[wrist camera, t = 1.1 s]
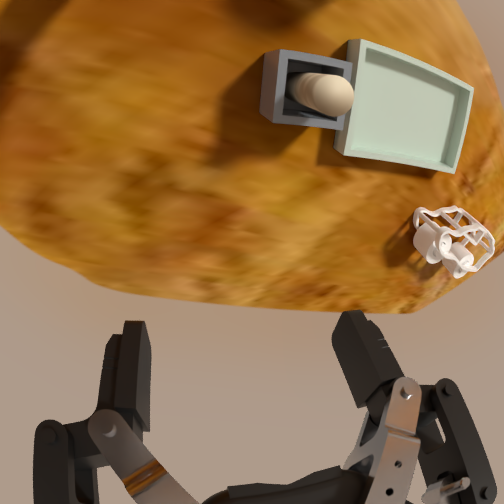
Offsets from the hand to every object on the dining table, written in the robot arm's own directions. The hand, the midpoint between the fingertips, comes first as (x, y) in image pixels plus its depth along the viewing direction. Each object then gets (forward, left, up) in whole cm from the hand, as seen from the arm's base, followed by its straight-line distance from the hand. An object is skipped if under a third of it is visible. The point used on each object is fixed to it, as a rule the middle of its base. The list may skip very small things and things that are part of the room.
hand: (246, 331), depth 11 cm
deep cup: (-8, +8, -25) cm, 27 cm away
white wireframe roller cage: (+10, +41, -25) cm, 49 cm away
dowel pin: (-8, +8, -24) cm, 27 cm away
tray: (-8, +24, -25) cm, 36 cm away
